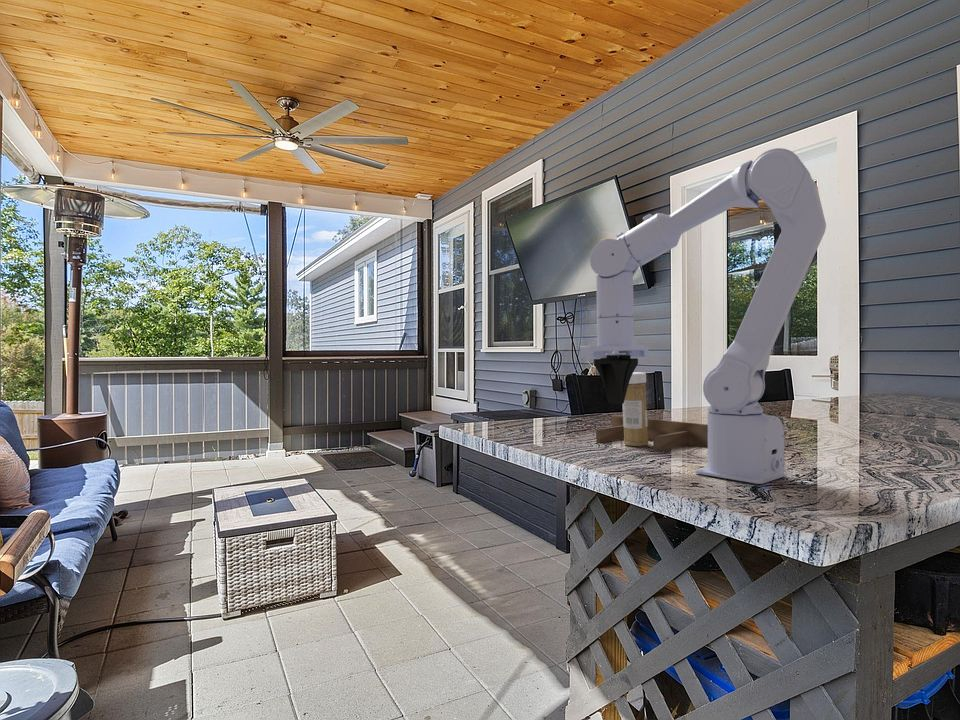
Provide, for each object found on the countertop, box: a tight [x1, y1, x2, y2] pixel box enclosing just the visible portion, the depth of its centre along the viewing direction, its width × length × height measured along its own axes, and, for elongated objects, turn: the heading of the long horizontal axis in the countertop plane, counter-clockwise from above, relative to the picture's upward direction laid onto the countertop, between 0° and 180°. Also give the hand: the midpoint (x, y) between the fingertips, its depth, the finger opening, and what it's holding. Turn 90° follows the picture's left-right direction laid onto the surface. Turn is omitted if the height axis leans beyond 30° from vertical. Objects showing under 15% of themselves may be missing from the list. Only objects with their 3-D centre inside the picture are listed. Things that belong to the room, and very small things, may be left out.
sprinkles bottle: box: [622, 371, 650, 447], centre depth 109 cm, size 5×5×14 cm
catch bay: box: [595, 414, 708, 452], centre depth 111 cm, size 22×11×4 cm, turn 39°
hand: (616, 403), depth 93 cm, fingers closed
